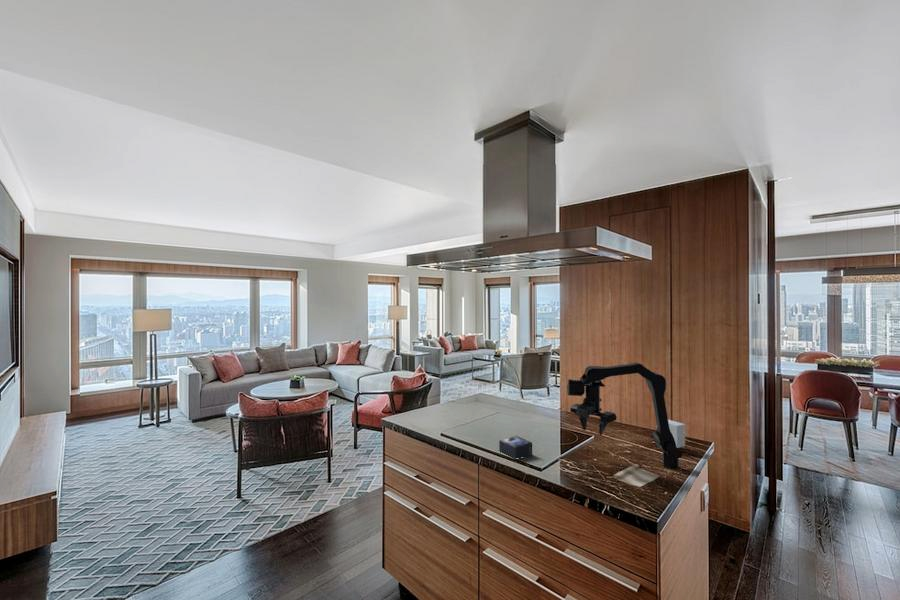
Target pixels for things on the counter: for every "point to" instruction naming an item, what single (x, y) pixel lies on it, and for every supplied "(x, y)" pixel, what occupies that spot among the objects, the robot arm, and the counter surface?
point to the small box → (515, 447)
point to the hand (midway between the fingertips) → (592, 432)
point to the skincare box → (677, 432)
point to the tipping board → (635, 476)
